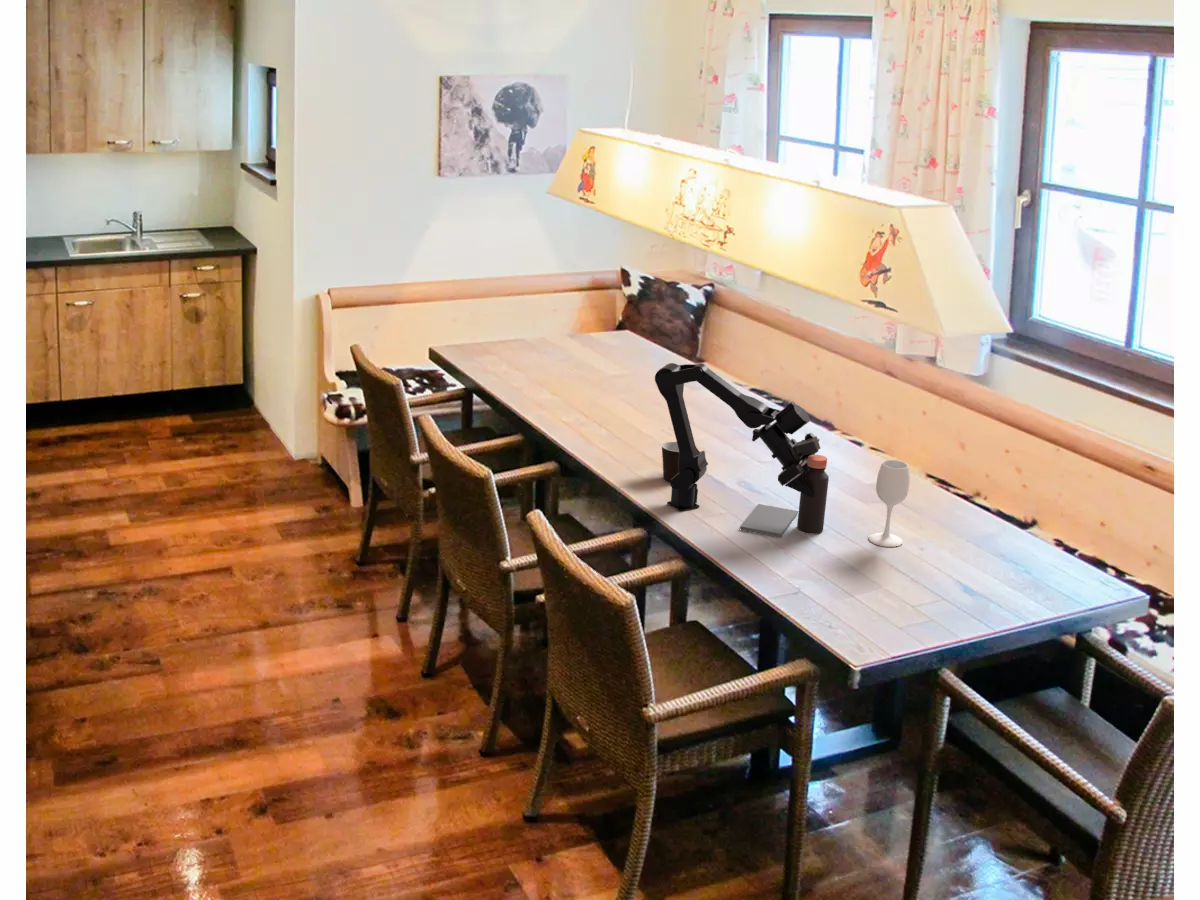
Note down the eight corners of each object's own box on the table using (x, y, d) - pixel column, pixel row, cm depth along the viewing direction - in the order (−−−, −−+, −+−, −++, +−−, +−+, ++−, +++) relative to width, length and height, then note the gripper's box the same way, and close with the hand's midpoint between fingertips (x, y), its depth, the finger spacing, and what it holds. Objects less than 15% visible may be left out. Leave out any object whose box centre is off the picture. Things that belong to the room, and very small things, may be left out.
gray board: (739, 529, 337) (740, 526, 337) (758, 507, 353) (758, 503, 353) (781, 537, 334) (781, 534, 333) (797, 514, 350) (797, 511, 349)
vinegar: (794, 532, 338) (802, 459, 331) (799, 523, 344) (806, 451, 337) (820, 536, 336) (829, 463, 329) (824, 527, 342) (832, 455, 335)
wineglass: (867, 544, 332) (877, 467, 325) (869, 532, 340) (878, 456, 333) (902, 549, 330) (912, 471, 323) (903, 536, 338) (913, 460, 331)
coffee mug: (678, 487, 365) (681, 453, 362) (653, 479, 370) (655, 446, 367) (701, 477, 374) (703, 444, 371) (676, 469, 379) (678, 437, 376)
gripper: (794, 436, 324) (833, 485, 324) (811, 416, 341) (848, 463, 340) (761, 461, 329) (799, 509, 329) (779, 440, 346) (816, 486, 346)
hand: (817, 491), depth 336 cm, fingers open, 9 cm apart
